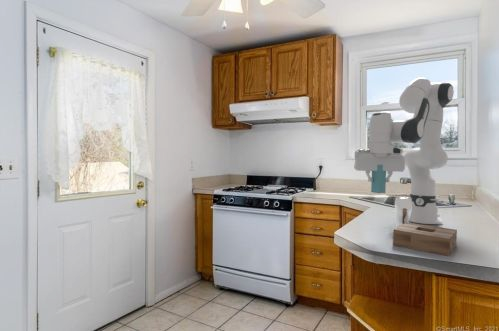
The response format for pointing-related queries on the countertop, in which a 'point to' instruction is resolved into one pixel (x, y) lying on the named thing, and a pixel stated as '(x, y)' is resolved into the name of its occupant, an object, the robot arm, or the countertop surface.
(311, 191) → the countertop surface
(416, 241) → the socket block
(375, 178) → the peg
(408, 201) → the beer glass
